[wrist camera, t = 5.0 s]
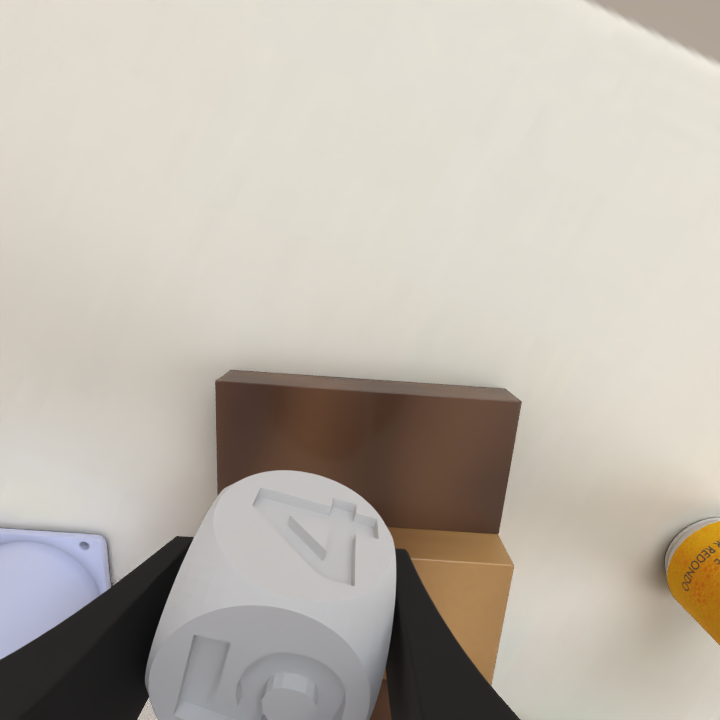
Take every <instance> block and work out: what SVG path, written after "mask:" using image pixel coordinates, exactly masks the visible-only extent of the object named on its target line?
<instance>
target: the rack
mask: <svg viewBox="0 0 720 720" xmlns="http://www.w3.org/2000/svg"><path fill="white" fill-rule="evenodd" d="M215 385H216V433H217V482H218V495H219V494H220V492H221V491H222V490H223V489H224V488H226V487H228V486H230V485H232V484H234V483H236V482H238V481H240V480H242V479H244V478H246V477H249V476H251V475H254V474H258V473H262V472H268V471H278V470H291V471H301V472H307V473H312V474H316V475H319V476H323V477H325V478H328V479H331V480H333V481H336V482H338V483H340V484H342V485H344V486H346V487H348V488H349V489H351V490H353V491H354V492H356V493H357V494H358V495H360V496H361V497H362V498H364V499H365V500H366V501H367V502H368V503H369V504H370V505H371V506H372V507H373V508H374V509H375V510H376V511H377V513H378V514H379V515H380V517H381V518H382V520H383V521H384V523H385V525H386V526H387V528H388V530H389V531H390V533H391V535H392V538H393V541H394V546H395V548H397V549H406V550H407V552H408V553H409V555H410V558H411V560H412V562H413V565H414V567H415V569H416V571H417V573H418V575H419V577H420V579H421V581H422V583H423V585H424V587H425V589H426V590H427V592H428V594H429V596H430V597H431V599H432V601H433V603H434V604H435V606H436V608H437V610H438V611H439V613H440V615H441V616H442V618H443V620H444V621H445V623H446V624H447V626H448V627H449V629H450V630H451V632H452V634H453V635H454V637H455V638H456V640H457V641H458V642H459V644H460V645H461V647H462V648H463V650H464V651H465V653H466V654H467V655H468V657H469V658H470V659H471V661H472V662H473V663H474V665H475V666H476V667H477V669H478V670H479V671H480V673H481V674H482V675H483V676H484V678H485V679H486V680H487V681H488V683H489V684H490V685H491V684H492V679H493V674H494V668H495V663H496V658H497V653H498V647H499V642H500V637H501V632H502V626H503V621H504V616H505V611H506V605H507V600H508V595H509V590H510V584H511V579H512V574H513V569H514V564H513V562H512V561H511V559H510V557H509V555H508V553H507V551H506V549H505V547H504V545H503V543H502V541H501V539H500V537H499V536H498V534H499V528H500V522H501V517H502V511H503V505H504V500H505V494H506V488H507V482H508V477H509V471H510V465H511V460H512V454H513V448H514V443H515V437H516V431H517V425H518V420H519V414H520V408H521V403H522V402H521V401H520V400H519V399H518V398H516V397H515V396H514V395H513V394H511V393H510V392H509V391H507V390H506V389H502V388H487V387H472V386H458V385H443V384H428V383H414V382H399V381H385V380H370V379H355V378H341V377H326V376H311V375H297V374H282V373H268V372H253V371H238V370H230V371H229V372H227V373H226V374H224V375H223V376H222V377H220V378H219V379H217V380H216V381H215ZM369 720H391V712H390V703H389V695H388V687H387V678H386V670H385V671H384V675H383V679H382V683H381V687H380V691H379V694H378V698H377V701H376V704H375V707H374V709H373V712H372V715H371V717H370V719H369Z"/></svg>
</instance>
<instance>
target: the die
mask: <svg viewBox="0 0 720 720" xmlns="http://www.w3.org/2000/svg"><path fill="white" fill-rule="evenodd" d="M395 595H396V554H395V546H394V541H393V538H392V535H391V533H390V531H389V530H388V528H387V526H386V525H385V523H384V521H383V520H382V518H381V517H380V515H379V514H378V513H377V511H376V510H375V509H374V508H373V507H372V506H371V505H370V504H369V503H368V502H367V501H366V500H365V499H364V498H362V497H361V496H360V495H358V494H357V493H356V492H354V491H353V490H351V489H349V488H348V487H346V486H344V485H342V484H340V483H338V482H336V481H333V480H331V479H328V478H325V477H323V476H319V475H316V474H312V473H307V472H301V471H291V470H278V471H268V472H262V473H258V474H254V475H251V476H249V477H246V478H244V479H242V480H240V481H238V482H236V483H234V484H232V485H230V486H228V487H226V488H224V489H223V490H222V491H221V492H220V494H219V495H218V496H217V498H216V499H215V501H214V502H213V504H212V505H211V507H210V509H209V510H208V512H207V514H206V516H205V517H204V519H203V521H202V523H201V525H200V527H199V529H198V531H197V533H196V535H195V537H194V539H193V541H192V543H191V545H190V547H189V549H188V551H187V554H186V556H185V558H184V560H183V563H182V565H181V567H180V570H179V572H178V574H177V577H176V579H175V582H174V584H173V586H172V589H171V592H170V594H169V597H168V599H167V602H166V605H165V607H164V610H163V613H162V616H161V618H160V621H159V624H158V627H157V630H156V633H155V637H154V640H153V643H152V647H151V650H150V654H149V658H148V662H147V667H146V673H145V685H146V689H147V692H148V695H149V698H150V701H151V704H152V707H153V710H154V713H155V715H156V717H157V719H158V720H369V719H370V717H371V715H372V712H373V709H374V707H375V704H376V701H377V698H378V694H379V691H380V687H381V683H382V679H383V675H384V671H385V666H386V662H387V656H388V651H389V645H390V639H391V633H392V625H393V617H394V607H395Z"/></svg>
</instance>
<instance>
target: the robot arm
mask: <svg viewBox="0 0 720 720" xmlns="http://www.w3.org/2000/svg"><path fill="white" fill-rule="evenodd" d="M193 539H194V537H181V536H177V537H175V538H174V539H173V540H171V541H170V542H169V543H167V544H166V545H165V546H164V547H162V548H161V549H160V550H159V551H157V552H156V553H155V554H154V555H152V556H151V557H150V558H148V559H147V560H146V561H145V562H143V563H142V564H141V565H140V566H138V567H137V568H136V569H134V570H133V571H132V572H131V573H129V574H128V575H127V576H125V577H124V578H123V579H121V580H120V581H119V582H118V583H116V584H115V585H114V586H112V587H111V583H110V573H109V563H108V553H107V543H106V540H105V538H104V537H103V536H101V535H97V534H83V533H68V532H52V531H37V530H22V529H7V528H0V720H137V718H138V717H139V715H140V713H141V711H142V709H143V707H144V705H145V703H146V701H147V700H148V698H149V695H148V692H147V689H146V685H145V673H146V667H147V662H148V658H149V654H150V650H151V647H152V643H153V640H154V637H155V633H156V630H157V627H158V624H159V621H160V618H161V616H162V613H163V610H164V607H165V605H166V602H167V599H168V597H169V594H170V592H171V589H172V586H173V584H174V582H175V579H176V577H177V574H178V572H179V570H180V567H181V565H182V563H183V560H184V558H185V556H186V554H187V551H188V549H189V547H190V545H191V543H192V541H193ZM85 542H86V543H87V544H86V543H85ZM395 554H396V595H395V607H394V617H393V625H392V633H391V639H390V645H389V651H388V656H387V662H386V666H385V670H386V678H387V687H388V695H389V703H390V712H391V720H520V719H519V718H518V717H517V715H516V714H515V713H514V712H513V711H512V710H511V709H510V707H509V706H508V705H507V704H506V703H505V702H504V701H503V700H502V698H501V697H500V696H499V695H498V694H497V693H496V691H495V690H494V689H493V688H492V686H491V685H490V684H489V683H488V681H487V680H486V679H485V678H484V676H483V675H482V674H481V673H480V671H479V670H478V669H477V667H476V666H475V665H474V663H473V662H472V661H471V659H470V658H469V657H468V655H467V654H466V653H465V651H464V650H463V648H462V647H461V645H460V644H459V642H458V641H457V640H456V638H455V637H454V635H453V634H452V632H451V630H450V629H449V627H448V626H447V624H446V623H445V621H444V620H443V618H442V616H441V615H440V613H439V611H438V610H437V608H436V606H435V604H434V603H433V601H432V599H431V597H430V596H429V594H428V592H427V590H426V589H425V587H424V585H423V583H422V581H421V579H420V577H419V575H418V573H417V571H416V569H415V567H414V565H413V562H412V560H411V558H410V555H409V553H408V552H407V550H406V549H397V548H395Z"/></svg>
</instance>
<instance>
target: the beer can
mask: <svg viewBox="0 0 720 720" xmlns="http://www.w3.org/2000/svg"><path fill="white" fill-rule="evenodd" d="M665 570H666V573H667V583H668V587H669V590H670V592H671V594H672V595H673V597H674V598H675V599H676V600H677V601H678V602H679V603H680V604H681V605H682V607H683V608H684V609H685V610H686V611H687V612H688V613H689V614H690V615H691V616H692V617H693V618H694V619H695V620H696V621H697V622H698V623H699V624H700V625H701V626H702V627H703V628H704V629H705V630H706V631H707V632H708V633H709V634H710V635H711V637H712V638H713V639H714V640H715V641H716V642H717V643H718V644H719V645H720V518H710V519H705V520H702V521H699V522H696V523H694V524H692V525H690V526H689V527H687V528H685V529H684V530H683V531H682V532H680V533H679V534H678V535H677V536H676V537H675V538H674V540H673V541H672V542H671V544H670V546H669V548H668V550H667V553H666V556H665Z"/></svg>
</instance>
